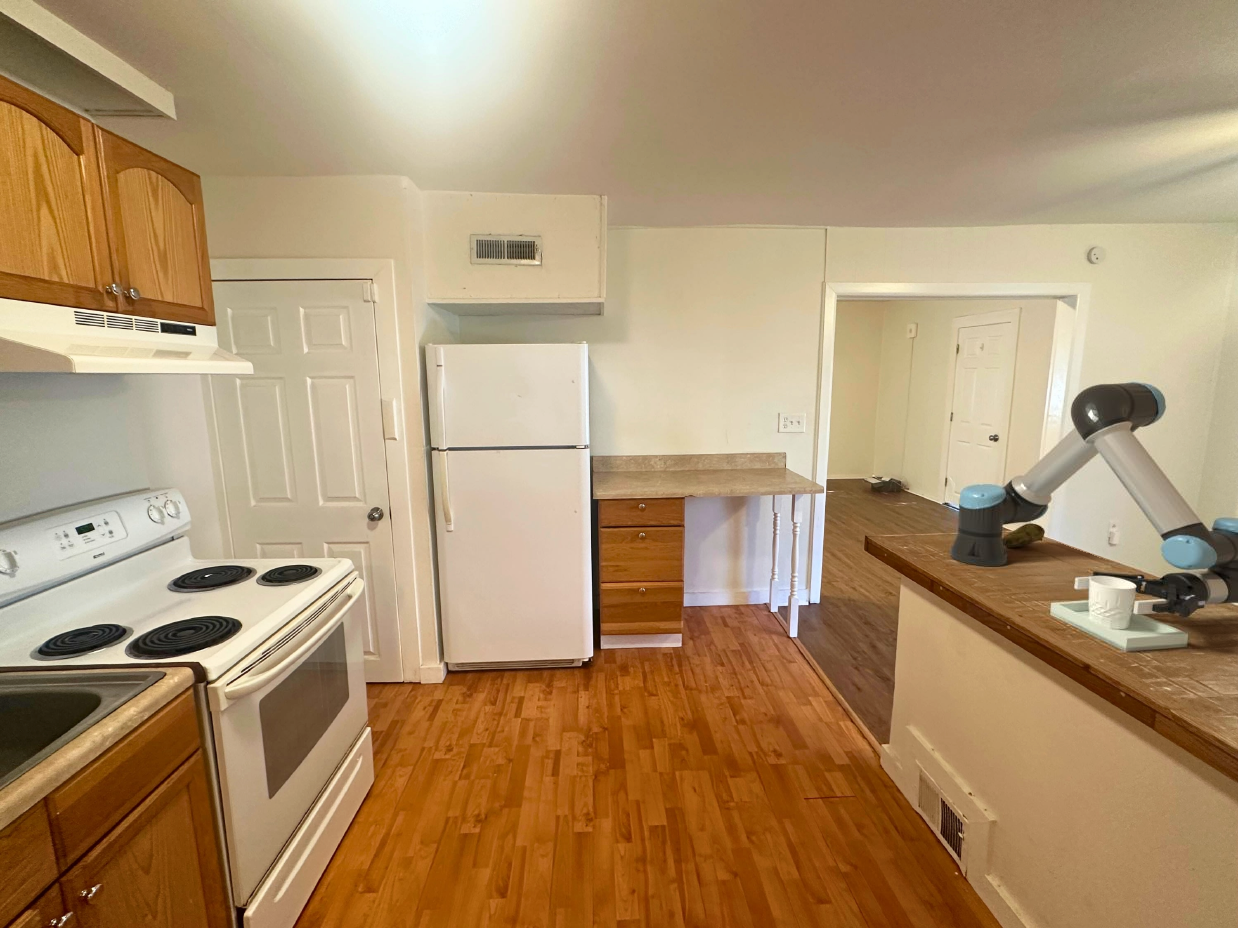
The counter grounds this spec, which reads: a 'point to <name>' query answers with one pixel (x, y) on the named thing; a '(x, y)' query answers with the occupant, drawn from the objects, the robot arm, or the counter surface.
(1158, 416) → the robot arm
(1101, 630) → the tray
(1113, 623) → the white cup
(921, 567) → the counter surface
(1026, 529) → the avocado
